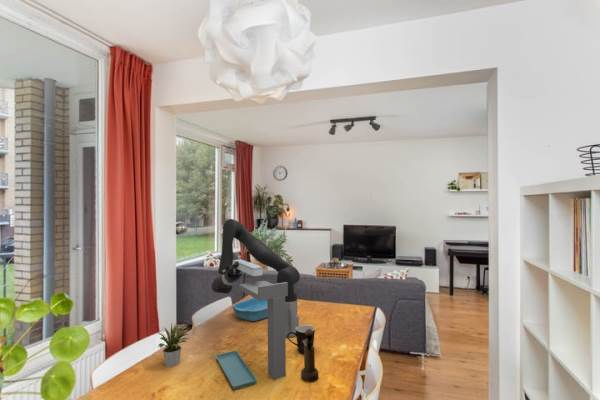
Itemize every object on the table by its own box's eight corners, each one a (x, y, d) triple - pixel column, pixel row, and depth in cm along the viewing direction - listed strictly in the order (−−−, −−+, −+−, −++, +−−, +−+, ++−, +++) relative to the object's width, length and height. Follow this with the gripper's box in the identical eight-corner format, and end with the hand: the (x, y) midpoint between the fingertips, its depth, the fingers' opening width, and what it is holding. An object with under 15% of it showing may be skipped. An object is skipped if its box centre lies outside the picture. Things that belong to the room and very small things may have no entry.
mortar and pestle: (300, 373, 123) (299, 326, 124) (316, 372, 124) (316, 325, 124) (301, 382, 117) (301, 333, 117) (319, 381, 117) (319, 332, 117)
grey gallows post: (239, 361, 133) (239, 277, 134) (265, 354, 139) (265, 273, 140) (260, 384, 116) (259, 287, 116) (289, 375, 122) (288, 282, 123)
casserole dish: (267, 302, 215) (267, 292, 215) (293, 308, 202) (293, 297, 202) (224, 318, 185) (224, 306, 185) (252, 326, 172) (252, 313, 172)
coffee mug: (317, 348, 145) (317, 326, 145) (311, 357, 136) (311, 333, 137) (293, 345, 148) (293, 323, 149) (286, 353, 140) (286, 330, 140)
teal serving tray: (257, 385, 116) (257, 378, 116) (233, 392, 112) (233, 385, 112) (236, 356, 139) (236, 350, 139) (215, 361, 135) (215, 355, 135)
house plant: (165, 378, 120) (165, 334, 121) (143, 368, 128) (143, 327, 128) (196, 362, 132) (195, 322, 133) (174, 354, 140) (174, 317, 140)
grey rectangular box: (232, 267, 151) (232, 260, 151) (240, 266, 153) (240, 259, 153) (253, 276, 131) (253, 268, 131) (262, 275, 133) (262, 267, 133)
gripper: (216, 269, 156) (226, 256, 144) (243, 266, 164) (255, 253, 151) (218, 284, 153) (229, 272, 141) (246, 280, 161) (258, 268, 148)
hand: (242, 262), depth 146 cm, fingers closed on grey rectangular box, 4 cm apart
